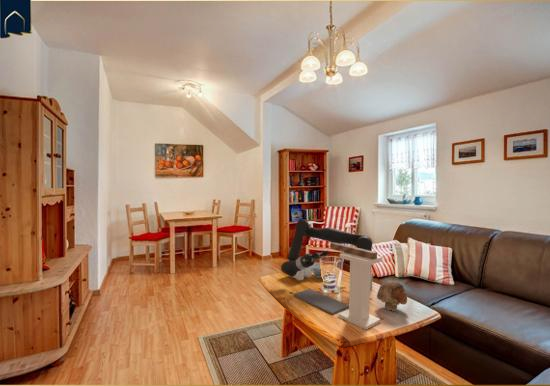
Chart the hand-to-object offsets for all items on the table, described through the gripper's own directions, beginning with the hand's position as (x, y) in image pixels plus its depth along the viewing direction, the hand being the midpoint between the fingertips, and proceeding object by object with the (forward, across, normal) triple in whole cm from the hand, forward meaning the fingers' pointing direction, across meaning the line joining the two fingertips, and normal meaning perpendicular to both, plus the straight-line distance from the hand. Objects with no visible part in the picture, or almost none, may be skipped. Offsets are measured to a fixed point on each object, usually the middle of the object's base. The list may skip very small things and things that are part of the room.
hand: (322, 253), depth 157 cm
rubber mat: (-15, 0, +23) cm, 28 cm away
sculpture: (+11, +24, +39) cm, 47 cm away
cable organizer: (-46, +18, +6) cm, 50 cm away
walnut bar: (+19, 0, +6) cm, 20 cm away
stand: (+7, 0, +36) cm, 37 cm away
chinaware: (-41, +32, +9) cm, 53 cm away
